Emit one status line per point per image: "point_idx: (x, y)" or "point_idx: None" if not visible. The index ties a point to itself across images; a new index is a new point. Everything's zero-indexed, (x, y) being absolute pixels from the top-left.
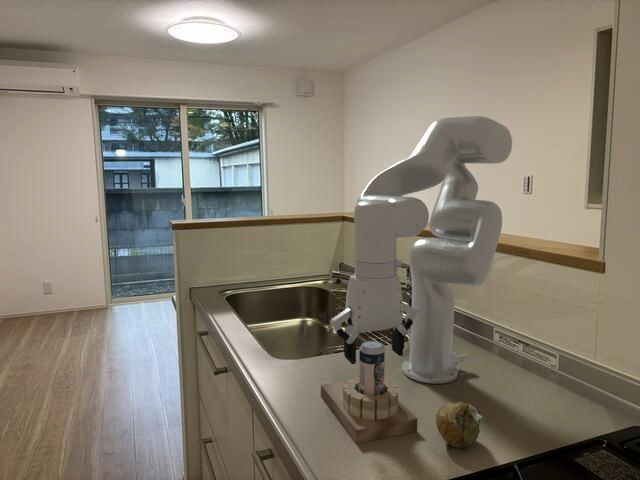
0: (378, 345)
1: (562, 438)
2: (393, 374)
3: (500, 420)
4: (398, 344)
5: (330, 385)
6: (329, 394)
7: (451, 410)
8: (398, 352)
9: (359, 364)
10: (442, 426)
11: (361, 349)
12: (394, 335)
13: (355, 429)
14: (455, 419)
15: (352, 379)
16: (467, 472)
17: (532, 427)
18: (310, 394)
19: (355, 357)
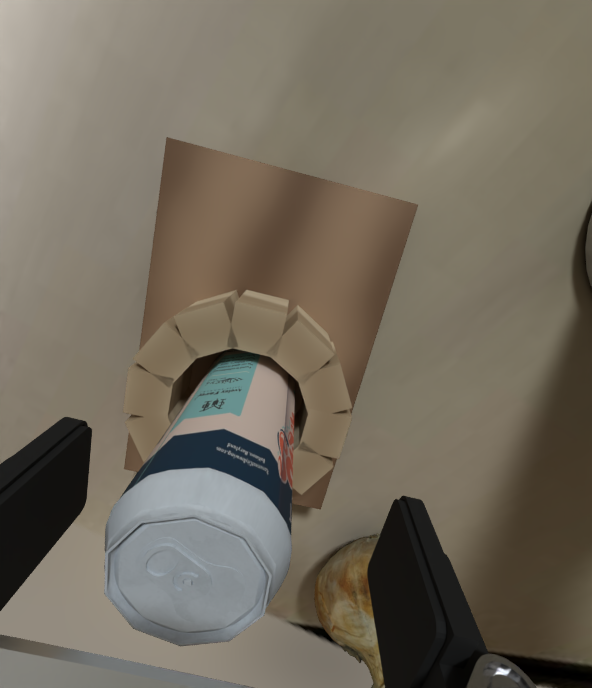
0: (225, 605)
1: (568, 646)
2: (569, 150)
3: (541, 549)
4: (382, 632)
5: (201, 168)
6: (157, 238)
7: (358, 642)
8: (371, 578)
9: (153, 450)
10: (316, 606)
11: (107, 540)
12: (417, 638)
13: (126, 461)
14: (344, 645)
15: (215, 312)
16: (293, 620)
17: (567, 598)
18: (152, 108)
19: (57, 534)
